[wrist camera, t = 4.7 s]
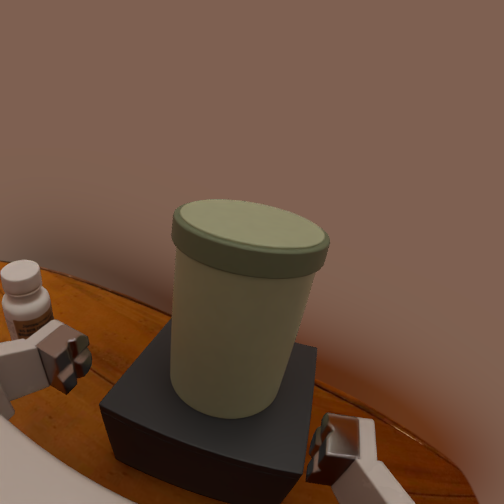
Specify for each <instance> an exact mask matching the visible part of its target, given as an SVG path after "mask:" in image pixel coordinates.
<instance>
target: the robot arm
mask: <svg viewBox="0 0 504 504" xmlns="http://www.w3.org/2000/svg"><path fill="white" fill-rule="evenodd" d="M88 345H89V340H88V336H86V335H84V334H83V333H81V332H79V331H77V330H75V329H73V328H71V327H69V326H68V325H66V324H64V323H62V322H60V321H58V320H51V321H50V322H49V323H47V324H46V325H45V326H43V327H42V328H41V329H39V330H38V331H37V332H35V333H34V334H33V335H32V336H30V337H29V338H28V339H26V340H25V339H18V340H13V341H8V342H2V343H0V504H137V503H135V502H133V501H130V500H128V499H126V498H124V497H122V496H120V495H118V494H116V493H114V492H112V491H110V490H108V489H107V488H105V487H103V486H101V485H99V484H97V483H96V482H94V481H92V480H90V479H89V478H87V477H85V476H84V475H82V474H80V473H79V472H77V471H75V470H74V469H72V468H71V467H69V466H68V465H66V464H64V463H63V462H61V461H60V460H59V459H57V458H56V457H54V456H53V455H51V454H50V453H48V452H47V451H46V450H44V449H43V448H42V447H40V446H39V445H38V444H36V443H35V442H34V441H32V440H31V439H30V438H28V437H27V436H26V435H25V434H23V433H22V432H21V431H20V430H19V429H17V428H16V427H15V426H14V425H13V424H11V423H10V422H9V421H8V420H9V419H10V418H11V417H12V416H13V415H14V414H15V410H14V408H13V406H12V405H11V403H10V401H12V400H14V399H17V398H20V397H22V396H25V395H28V394H30V393H33V392H36V391H38V390H41V389H44V388H46V387H49V386H50V385H51V386H52V387H54V388H56V389H57V390H59V391H61V392H62V393H64V394H66V395H67V394H68V393H69V392H70V391H71V390H72V389H73V388H74V387H75V386H76V385H77V378H81V377H84V376H85V375H86V374H87V373H88V372H89V369H90V367H91V365H92V356H91V353H90V351H89V350H88V348H87V347H88ZM309 455H310V456H311V458H312V459H311V461H310V462H309V464H308V466H307V474H306V482H309V483H315V484H321V485H328V486H331V488H332V490H333V492H334V494H335V496H336V498H337V500H338V502H339V504H415V503H414V501H413V500H412V499H411V498H410V496H409V495H408V494H407V493H406V491H405V490H404V489H403V488H402V486H401V485H400V484H399V483H398V481H397V480H396V479H395V478H394V476H393V475H392V474H391V473H390V471H389V470H388V469H387V467H386V466H385V465H384V464H383V462H382V461H377V451H376V438H375V427H374V421H373V419H366V418H359V417H352V416H345V415H338V414H332V413H326V414H325V415H324V416H323V418H322V422H321V426H320V427H318V428H317V429H316V431H315V433H314V435H313V438H312V441H311V445H310V451H309Z"/></svg>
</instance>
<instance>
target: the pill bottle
mask: <svg viewBox="0 0 504 504" xmlns="http://www.w3.org/2000/svg"><path fill="white" fill-rule="evenodd" d="M1 280H2V286H3V289H4V292H5V294H4V296H3V299H2V307H3V311H4V315H5V319H6V322H7V326H8V329H9V332H10V336H11V339H12V341H13V340H18V339H25V340H26V339H28V338H29V337H30V336H32V335H33V334H34V333H35V332H37V331H38V330H39V329H41V328H42V327H43V326H45V325H46V324H47V323H49V322H50V321H51V320H54V317H53V312H52V307H51V301H50V296H49V293H48V292H47V290H46V289H45V288H44V287H42V281H41V280H42V279H41V273H40V267H39V265H38V264H37V263H36V262H34V261H30V260H20V261H15V262H12V263H9V264H8V265H6V266H5V267H4V268H3V269H2V270H1Z"/></svg>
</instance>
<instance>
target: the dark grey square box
mask: <svg viewBox="0 0 504 504" xmlns="http://www.w3.org/2000/svg"><path fill="white" fill-rule="evenodd" d="M171 326H172V318H171V319H170V320H169V322H168V323H167V324H166V325H165V326H164V327H163V329H162V330H161V331H160V332H159V333H158V334H157V336H156V337H155V338H154V339H153V340H152V342H151V343H150V344H149V345H148V346H147V347H146V349H145V350H144V351H143V352H142V353H141V354H140V356H139V357H138V358H137V359H136V360H135V362H134V363H133V364H132V365H131V366H130V367H129V369H128V370H127V371H126V372H125V373H124V375H123V376H122V377H121V378H120V379H119V380H118V382H117V383H116V384H115V385H114V386H113V388H112V389H111V390H110V391H109V392H108V394H107V395H106V396H105V397H104V398H103V400H102V401H101V402H100V403H99V406H100V410H101V414H102V418H103V421H104V424H105V428H106V431H107V434H108V437H109V440H110V443H111V446H112V449H113V452H114V455H115V457H116V459H117V460H119V461H121V462H123V463H125V464H127V465H129V466H131V467H133V468H136V469H138V470H140V471H142V472H144V473H147V474H149V475H151V476H153V477H156V478H158V479H161V480H163V481H165V482H168V483H170V484H173V485H176V486H178V487H181V488H184V489H186V490H189V491H192V492H195V493H198V494H201V495H204V496H207V497H210V498H214V499H217V500H220V501H224V502H228V503H231V504H280V503H281V502H282V501H283V499H284V498H285V497H286V495H287V494H288V493H289V492H290V490H291V489H292V488H293V486H294V485H295V484H296V482H297V481H298V480H299V478H300V477H301V475H302V474H303V469H304V462H305V455H306V448H307V441H308V433H309V425H310V417H311V409H312V399H313V390H314V380H315V368H316V357H317V348H316V347H311V346H307V345H303V344H299V343H295V342H294V345H293V348H292V351H291V355H290V358H289V361H288V364H287V367H286V370H285V372H284V375H283V378H282V381H281V384H280V387H279V390H278V393H277V395H276V397H275V399H274V400H273V402H272V403H271V404H270V405H269V406H268V407H267V408H265V409H264V410H263V411H261V412H259V413H257V414H254V415H252V416H248V417H244V418H237V419H225V418H218V417H213V416H209V415H206V414H203V413H201V412H199V411H197V410H195V409H193V408H192V407H190V406H189V405H188V404H186V403H185V402H184V401H183V400H182V399H181V398H180V397H179V396H178V394H177V393H176V392H175V390H174V388H173V386H172V383H171V378H170V360H171Z"/></svg>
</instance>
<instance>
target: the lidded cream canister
mask: <svg viewBox="0 0 504 504" xmlns="http://www.w3.org/2000/svg"><path fill="white" fill-rule="evenodd" d="M171 236H172V240H173V242H174V244H175V246H176V248H177V249H176V259H175V260H176V261H175V273H174V287H173V288H174V289H173V305H172V326H171V360H170V378H171V383H172V386H173V388H174V390H175V392H176V393H177V394H178V396H179V397H180V398H181V399H182V400H183V401H184V402H185V403H186V404H188V405H189V406H190V407H192V408H193V409H195V410H197V411H199V412H201V413H203V414H206V415H209V416H213V417H218V418H225V419H237V418H244V417H248V416H252V415H254V414H257V413H259V412H261V411H263V410H264V409H265V408H267V407H268V406H269V405H270V404H271V403H272V402H273V400H274V399H275V397H276V395H277V393H278V390H279V387H280V384H281V381H282V378H283V375H284V372H285V370H286V367H287V364H288V361H289V358H290V355H291V351H292V348H293V345H294V342H295V339H296V336H297V333H298V330H299V326H300V323H301V320H302V317H303V313H304V310H305V307H306V303H307V300H308V297H309V293H310V290H311V286H312V283H313V279H314V276H315V272H317V271H318V270H320V269H321V267H322V266H323V265H324V262H325V259H326V255H327V252H328V248H329V244H330V239H329V236H328V234H327V233H326V232H325V231H324V230H323V229H322V228H320V227H319V226H317V225H316V224H314V223H312V222H311V221H309V220H308V219H306V218H304V217H301V216H299V215H297V214H294V213H291V212H288V211H285V210H282V209H278V208H275V207H271V206H267V205H263V204H257V203H252V202H245V201H235V200H218V199H217V200H202V201H196V202H191V203H188V204H184V205H182V206H180V207H178V208H177V209H176V210H175V212H174V215H173V224H172V235H171Z"/></svg>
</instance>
